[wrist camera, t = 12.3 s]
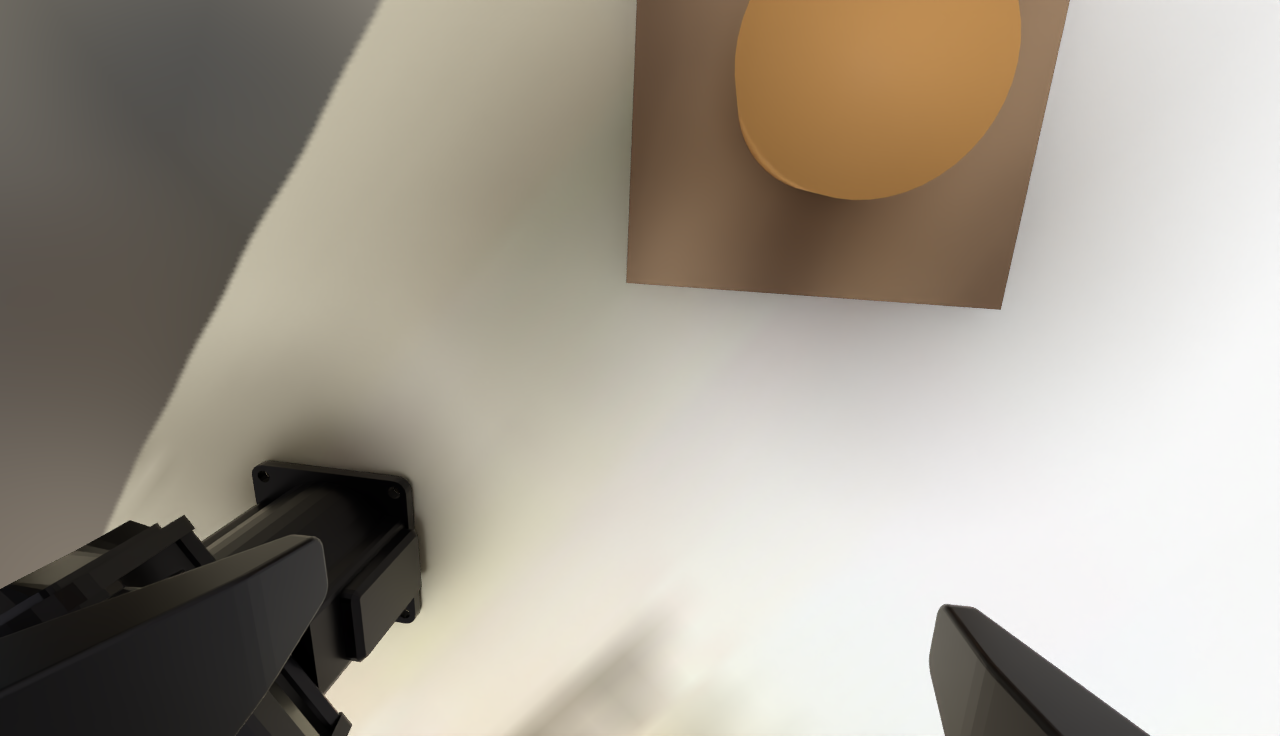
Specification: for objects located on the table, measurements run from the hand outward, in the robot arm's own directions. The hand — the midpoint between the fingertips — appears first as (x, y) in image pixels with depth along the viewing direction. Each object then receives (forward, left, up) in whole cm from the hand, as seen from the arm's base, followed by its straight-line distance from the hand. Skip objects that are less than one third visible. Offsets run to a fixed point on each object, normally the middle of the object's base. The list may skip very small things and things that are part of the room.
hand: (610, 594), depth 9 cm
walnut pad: (+4, +8, -13) cm, 15 cm away
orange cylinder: (+3, +8, -12) cm, 15 cm away
